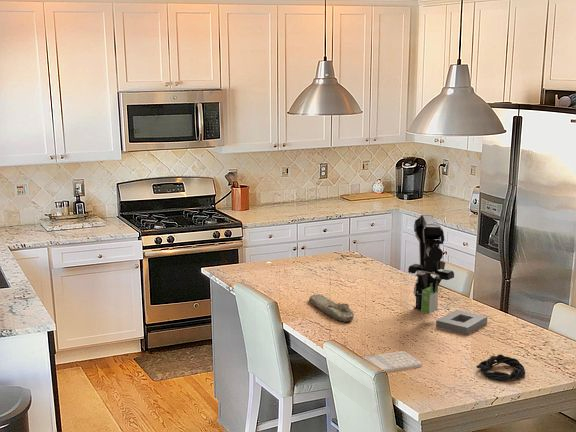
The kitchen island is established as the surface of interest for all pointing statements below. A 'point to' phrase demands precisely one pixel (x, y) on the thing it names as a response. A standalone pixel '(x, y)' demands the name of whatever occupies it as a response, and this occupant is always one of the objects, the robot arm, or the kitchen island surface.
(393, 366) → the calculator
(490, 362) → the cable
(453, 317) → the pocket plate
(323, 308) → the long grey stone
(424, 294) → the ink box
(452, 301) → the kitchen island surface
